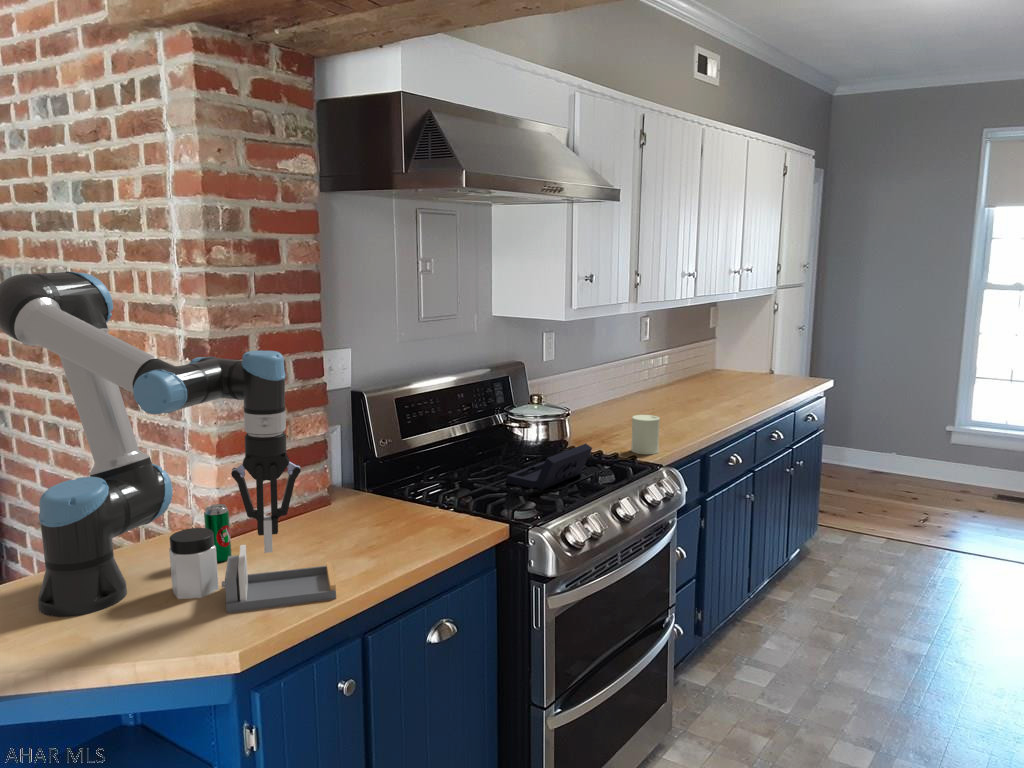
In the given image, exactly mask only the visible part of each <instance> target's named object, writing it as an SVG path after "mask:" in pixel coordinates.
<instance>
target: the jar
mask: <svg viewBox="0 0 1024 768" xmlns="http://www.w3.org/2000/svg"><path fill="white" fill-rule="evenodd" d="M168 550H169V562H170V563H169V565H170V575H171V588H172V593H173V594H174V595H175V597H176V598H177V600H183V599H184V600H185V599H186V600H187V599H202V598H204V597H206V596H208V595H210V594H212V593H214V592H216V591H218V590H219V589H220V588H219V586H220V585H219V575H218V574H219V573H218V571H219V570H218V563H217V556H216V546H215V545H214V534H213V531H212V530H210V529H207V528H205V527H193V528H185V529H181V530H178V531H177V532H173V533H172V534H171V535H170V536H169V549H168Z"/></svg>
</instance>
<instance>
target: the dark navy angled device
mask: <svg viewBox="0 0 1024 768" xmlns="http://www.w3.org/2000/svg"><path fill="white" fill-rule="evenodd" d="M592 450H593V447H592V446H590V445H589V444H588V443H584V444H581V445H579V446H576V447H573V448H570V449H565V450H562V451H561V452H559V453H557V454H554V455H552V456H549V457H546V459H545V460H544V461H541V462H539V463H536V464H534V465H531V466H528V467H525V468H523V469H520V470H518V471H515V472H513V473H512V472H511V473H509V474H507V475H506V484H509V485H514V486H519V487H524V488H528V489H533V490H536V489H537V490H539V491H543V490H545V489H548V488H550V487H552V486H554V485H555V486H556V485H557V484H560V483H562V482H564V481H567V480H570V479H571V478H574V477H577V476H579V475H581V473H582V471H583V469H584V467H585V465H586V463H587V460H588V459H589V457H590V454H591V452H592Z"/></svg>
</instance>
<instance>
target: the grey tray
mask: <svg viewBox="0 0 1024 768" xmlns="http://www.w3.org/2000/svg"><path fill="white" fill-rule="evenodd" d="M238 564H239V555H232V556H228V560H227V561H226V567H225V568H226V569H225V574H224V575H225V576H224V581H225V587H224V589H225V602H226V603H225V608H226V609H225V610H226V613H227V614H231V613H239V612H246V611H247V612H248V611H254V610H261V609H262V610H263V609H268V608H269V609H270V608H276V607H284V606H285V607H286V606H293V605H301V604H307V603H306V602H309V603H314V602H313V601H317V602H324V601H329V600H330V599H332V600H337V588H336V579H335V575H334V569H333V564H332V561H326V563H325V565H321V566H313V567H304V568H295V569H294V568H293V569H285V570H275V571H268V572H267V571H266V572H258V573H250V574H248V590H247V601H240V588H239V586H238V580H239V572H238ZM321 600H322V601H321ZM323 600H324V601H323ZM300 603H301V604H300Z"/></svg>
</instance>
